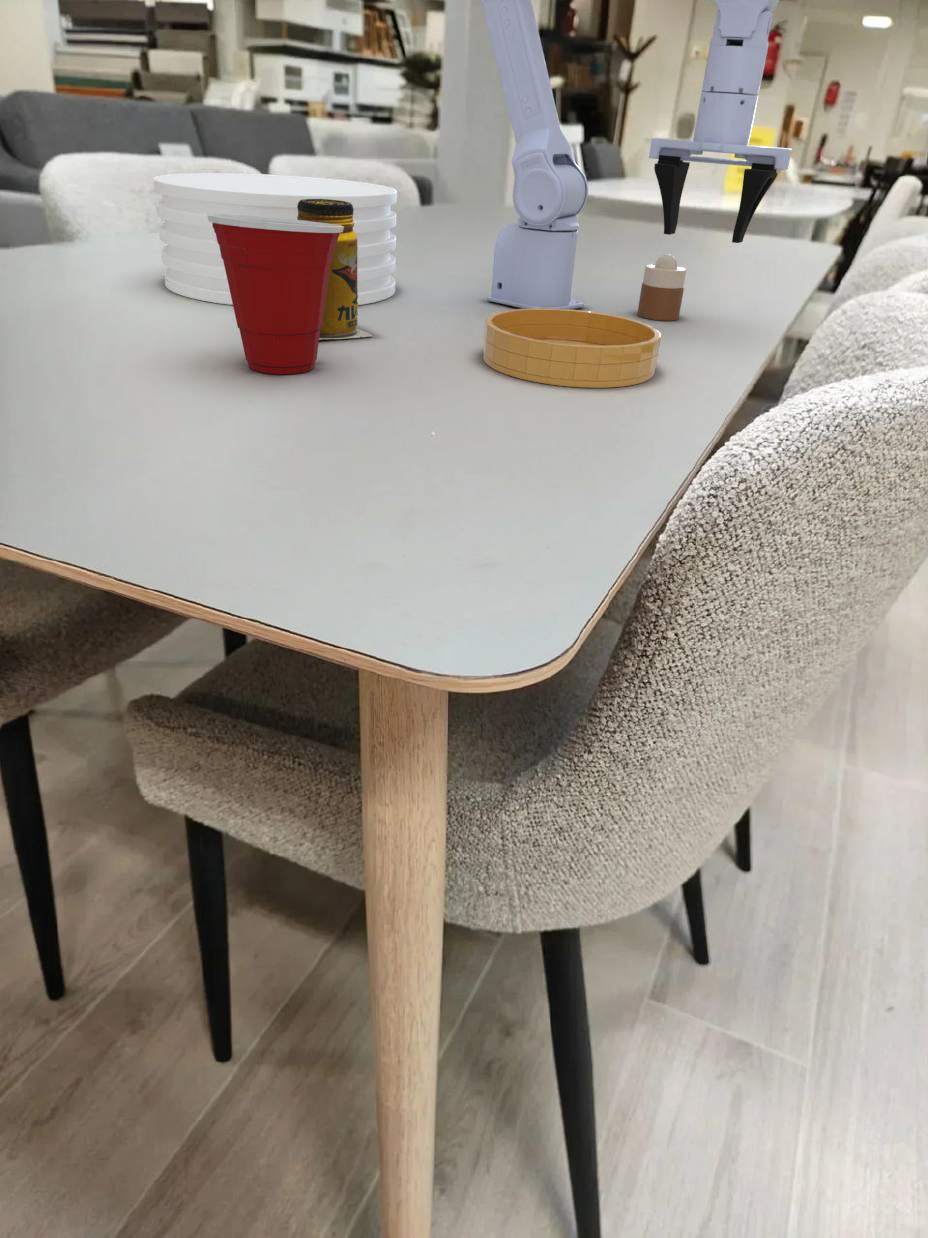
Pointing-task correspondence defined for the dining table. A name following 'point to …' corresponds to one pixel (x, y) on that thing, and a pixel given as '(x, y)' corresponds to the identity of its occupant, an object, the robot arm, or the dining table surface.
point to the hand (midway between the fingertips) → (702, 237)
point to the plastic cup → (277, 286)
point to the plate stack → (265, 195)
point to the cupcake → (662, 290)
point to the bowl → (570, 347)
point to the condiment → (338, 268)
